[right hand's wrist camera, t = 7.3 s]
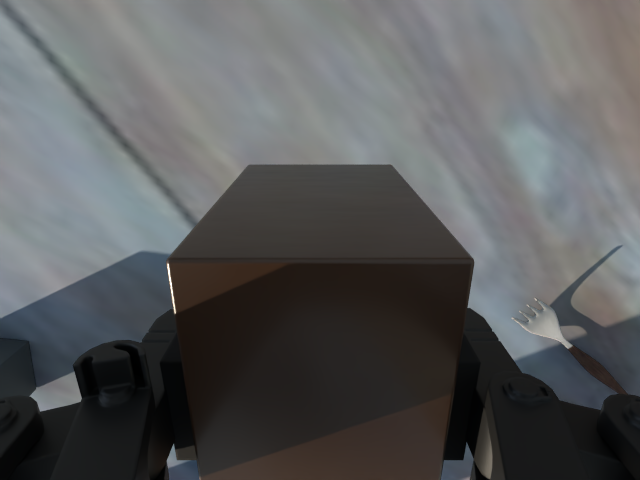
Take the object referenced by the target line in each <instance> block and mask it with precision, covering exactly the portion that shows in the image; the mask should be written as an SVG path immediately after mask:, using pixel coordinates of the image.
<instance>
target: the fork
mask: <svg viewBox="0 0 640 480" xmlns="http://www.w3.org/2000/svg"><path fill="white" fill-rule="evenodd" d="M534 299H535V300H536V301H537V302H538V303H539V304H540V305H541V306H542V308H543V309H542V310H538V309H536V308H534V307H532V306H530V305H527V306H528V307H529V308H530V309H531V310H532V311H533V312H534V313H535V316H530V315H528V314H526V313H524V312H522V311H520V313H522V314H523V315H524V316H525V317H526V318H527V319H528V321H527V322H523V321H521V320H519V319H516V318H514V317H512V319H514V320H515V321H516V322H518V323H519V324H520V325H521V326H522V327H523V328H524V329H525V330H527V331H529V332H531V333H533V334H537V335H540V336H544V337H549V338H552V339H555V340H558V341H560V342H561V343H563V344H564V345H565V346H566V348H567V349H568V350H569V351H570V352H571V353H572V355H573V356H574V357H575V358H576V359H577V360H578V361H579V363H580V364H581V365H582V366H583V367H584V368H585V369H586V370H587V371H588V372H589V373H590V374H591V375H592V376H594V377H595V378H597V379H598V380H599V381H601V382H602V383H604V384H606V385H607V386H609V387H610V388H612V389H613V390H615V391H616V392H617V393H619V394H627V393H626V392H625V390H624V389H623V388H622V387H621V386H620V385H619V384H618V383H617V381H616V380H615V379H614V378H613V377H612V376H611V374H610V373H609V372H608V371H607V370H606V369H605V368H604V367H603V366H602V365H601V364H600V363H599V362H597V361H596V360H595V359H593V358H592V357H590V356H589V355H587V354H586V353H584V352H583V351H581V350H580V349H578V348H577V347H575V346H574V345H572V344H571V343H569V342H568V341H567V340H566V339H565V338H564V337H563V335H562V333H561V329H560V325H559V321H558V318H557V315H556V313H555V311H554V310H553V309H552V308H551V307H550V306H548V305H546V304H545V303H543V302H542V301H540V300H538V299H536V298H534Z"/></svg>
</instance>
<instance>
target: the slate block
mask: <svg viewBox="0 0 640 480" xmlns="http://www.w3.org/2000/svg"><path fill="white" fill-rule="evenodd" d="M35 390H36V384H35V378H34V372H33V366H32V360H31V354H30V348H29V342H28V341H21V340H11V339H1V338H0V399H2V398H5V397H11V396H18V395H21V396H28V397H29V396H30V395H31V394H32V393H33V392H34V391H35Z"/></svg>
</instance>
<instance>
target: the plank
mask: <svg viewBox="0 0 640 480" xmlns="http://www.w3.org/2000/svg"><path fill="white" fill-rule="evenodd" d="M166 265H167V271H168V278H169V284H170V291H171V297H172V304H173V310H174V317H175V323H176V329H177V336H178V342H179V349H180V355H181V362H182V368H183V375H184V381H185V388H186V394H187V401H188V407H189V413H190V420H191V426H192V433H193V439H194V446H195V452H196V459H197V465H198V472H199V478H200V480H441V474H442V468H443V461H444V455H445V448H446V442H447V435H448V429H449V423H450V416H451V410H452V403H453V397H454V390H455V384H456V377H457V371H458V364H459V358H460V352H461V345H462V339H463V332H464V326H465V319H466V313H467V306H468V300H469V294H470V287H471V281H472V274H473V268H474V260H473V258H472V257H471V256H470V254H469V253H468V252H467V251H466V250H465V249H464V248H463V246H462V245H461V244H460V243H459V242H458V241H457V240H456V238H455V237H454V236H453V235H452V234H451V233H450V231H449V230H448V229H447V228H446V227H445V226H444V225H443V223H442V222H441V221H440V220H439V219H438V218H437V217H436V215H435V214H434V213H433V212H432V211H431V210H430V208H429V207H428V206H427V205H426V204H425V203H424V202H423V200H422V199H421V198H420V197H419V196H418V195H417V194H416V192H415V191H414V190H413V189H412V188H411V187H410V185H409V184H408V183H407V182H406V181H405V180H404V179H403V177H402V176H401V175H400V174H399V173H398V172H397V170H396V169H395V168H394V167H393V166H392V165H248V166H247V167H246V168H245V170H244V171H243V172H242V173H241V174H240V175H239V177H238V178H237V179H236V180H235V181H234V182H233V183H232V185H231V186H230V187H229V188H228V189H227V190H226V192H225V193H224V194H223V195H222V196H221V197H220V198H219V200H218V201H217V202H216V203H215V204H214V205H213V207H212V208H211V209H210V210H209V211H208V212H207V213H206V215H205V216H204V217H203V218H202V219H201V220H200V222H199V223H198V224H197V225H196V226H195V227H194V228H193V230H192V231H191V232H190V233H189V234H188V235H187V237H186V238H185V239H184V240H183V241H182V242H181V243H180V245H179V246H178V247H177V248H176V249H175V250H174V252H173V253H172V254H171V255H170V256H169V257H168V258H167V261H166Z"/></svg>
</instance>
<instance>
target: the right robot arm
mask: <svg viewBox="0 0 640 480" xmlns="http://www.w3.org/2000/svg"><path fill="white" fill-rule="evenodd" d="M73 368H74V371H75V375H76V378H77V382H78V386H79V389H80V393H81V396H82V400H81V402H79V403H76V404H72V405H68V406H64V407H59V408H55V409H50V410H46V411H41V412H40V410H39V407H38V404H37V402H36V401H35V400H34V399H33V398H31V397H28V396H21V395H18V396H11V397H5V398H2V399H0V480H169V473H168V466H167V458H168V456H169V453H170V451H171V448H172V446H173V444H174V446H175V452H176V457H177V460H197V459H196V452H195V446H194V439H193V433H192V426H191V420H190V413H189V407H188V401H187V394H186V388H185V381H184V375H183V368H182V362H181V355H180V349H179V342H178V336H177V329H176V323H175V317H174V310H173V309H170V310H169V311H167V312H166V313H165V314H163V315H162V316H160V317H159V318H158V319H156V321H155V322H154V324H153V325H152V327H151V328H150V329H149V333H147V334H146V335H145V337H144V338H143V340H142V343H139V342H135V341H131V340H116V341H112V342H108V343H104V344H101V345H99V346H97V347H94V348H92V349H90V350H88V351H87V352H86V353H84V354H83V355H81V356H80V357H79V358H78V359H77V361H76V362H75V363H74V364H73ZM466 442H467V443H468V446H469V448H470V451H471V453H472V456H473V458H474V461H473V466H472V472H471V477H470V480H640V397H638V396H635V395H628V394H615V395H610V396H609V397H608V398H606V399H605V400H604V402H603V405H602V408H601V410H597V409H593V408H588V407H584V406H580V405H575V404H571V403H567V402H564V401H560V400H559V399H558V397H557V396H556V394H555V393H554V391H553V390H552V389H551V388H550V387H549V386H547V385H546V384H545V383H544V382H543V381H541V380H539V379H537V378H535V377H533V376H531V375H528V374H524V373H522V372H521V371H520V369H519V368H518V366H517V365H516V363H515V362H514V360H513V359H512V358H511V356H510V355H509V353H508V352H507V350H506V349H505V348H504V346H503V345H502V343H501V342H500V341H499V340H498V337H497V336H496V335H495V333H494V332H492V329H491V327H490V326H489V324H488V323H487V322H486V320H485V319H484V318H483V317H482V316H480V315H479V314H478V313H476V312H475V311H473V310H472V309H470V308H467V313H466V319H465V326H464V332H463V339H462V345H461V352H460V358H459V364H458V371H457V377H456V384H455V390H454V397H453V403H452V410H451V416H450V423H449V429H448V435H447V442H446V448H445V455H444V460H463V459H464V453H465V448H466Z"/></svg>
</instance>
